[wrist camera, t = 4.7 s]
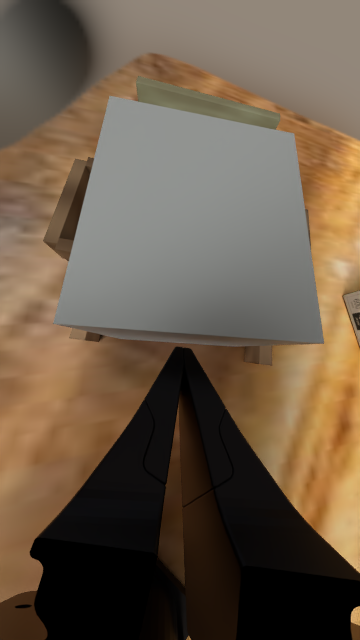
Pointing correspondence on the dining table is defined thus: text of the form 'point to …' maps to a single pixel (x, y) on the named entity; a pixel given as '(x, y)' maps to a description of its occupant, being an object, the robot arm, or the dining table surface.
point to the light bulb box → (354, 311)
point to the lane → (77, 182)
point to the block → (192, 234)
